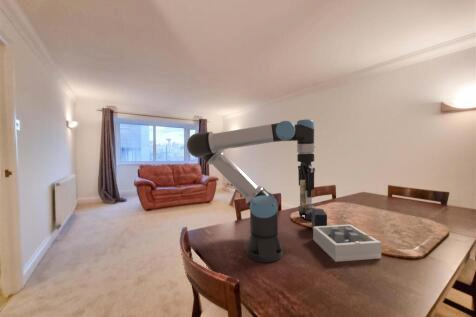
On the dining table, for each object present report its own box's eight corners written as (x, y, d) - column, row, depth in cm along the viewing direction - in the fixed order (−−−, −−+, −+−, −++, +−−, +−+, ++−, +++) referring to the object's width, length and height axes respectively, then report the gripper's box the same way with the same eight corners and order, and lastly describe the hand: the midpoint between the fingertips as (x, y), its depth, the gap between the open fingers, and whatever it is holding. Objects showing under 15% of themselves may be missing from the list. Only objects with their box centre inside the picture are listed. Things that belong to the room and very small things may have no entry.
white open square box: (335, 261, 78) (335, 244, 78) (313, 239, 97) (313, 225, 97) (381, 258, 80) (381, 241, 79) (350, 237, 99) (350, 223, 98)
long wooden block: (300, 213, 92) (300, 181, 92) (297, 209, 98) (297, 179, 98) (313, 213, 92) (313, 181, 91) (309, 209, 98) (309, 179, 97)
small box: (327, 235, 102) (327, 214, 101) (314, 234, 103) (314, 214, 103) (323, 227, 112) (323, 208, 112) (311, 226, 114) (311, 208, 113)
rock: (295, 212, 130) (303, 199, 128) (307, 218, 133) (315, 205, 131) (303, 222, 119) (312, 208, 118) (316, 227, 122) (325, 214, 121)
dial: (369, 251, 81) (370, 238, 80) (332, 249, 83) (332, 236, 83) (357, 237, 93) (357, 226, 93) (324, 235, 96) (324, 224, 96)
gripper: (322, 153, 85) (323, 207, 87) (305, 152, 103) (305, 197, 104) (305, 153, 85) (306, 208, 86) (291, 153, 102) (291, 198, 103)
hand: (306, 202), depth 95 cm, fingers closed on long wooden block, 4 cm apart
